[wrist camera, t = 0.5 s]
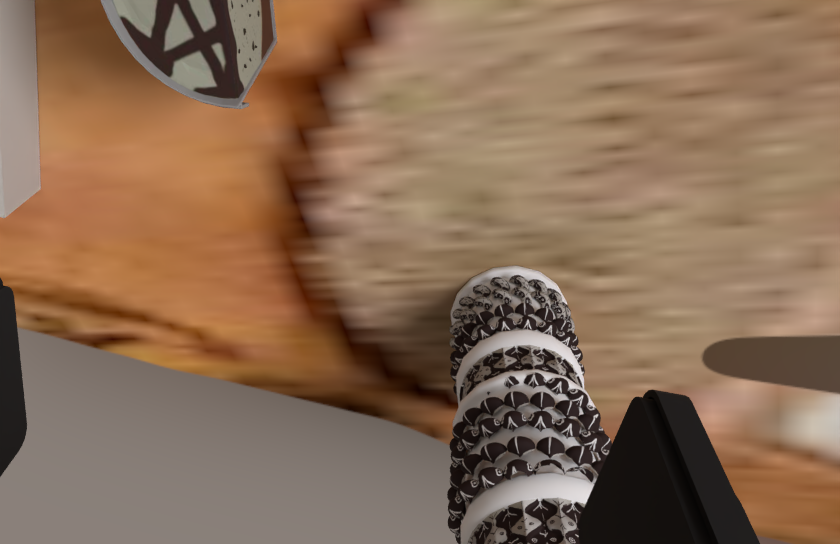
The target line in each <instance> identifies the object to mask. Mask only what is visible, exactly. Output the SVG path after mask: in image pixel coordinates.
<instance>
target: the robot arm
mask: <svg viewBox="0 0 840 544" xmlns="http://www.w3.org/2000/svg"><path fill="white" fill-rule="evenodd" d="M26 430H27V421H26V410H25V401H24V391H23V381H22V371H21V361H20V351H19V342H18V332H17V322H16V312H15V302H14V295H13V291H12V289H11V288H10V287H8V286H3V282H2V280H1V278H0V476H1V475H2V473H3V472H4V470H5V469H6V468H7V467H8V465H9V464H10V462H11V461H12V460H13V458H14V457H15V455H16V454H17V453H18V451H19V450H20V448H21V446H22V444H23V442H24V439H25V435H26ZM579 541H580V544H760V543H759V541H758V539H757V536H756V534H755V532H754V530H753V528H752V526H751V524H750V521H749V519H748V517H747V515H746V513H745V511H744V509H743V507H742V504H741V503H740V501H739V499H738V498H737V496H736V495H735V493H734V491H733V489H732V487H731V485H730V482H729V480H728V478H727V476H726V474H725V472H724V470H723V468H722V465H721V463H720V461H719V459H718V457H717V455H716V453H715V450H714V448H713V446H712V444H711V442H710V440H709V438H708V435H707V433H706V431H705V429H704V427H703V425H702V423H701V420H700V418H699V416H698V414H697V412H696V410H695V408H694V405H693V403H692V401H691V400H690V399H689V397H687V396H685V395H679V394H674V393H668V392H662V391H657V390H649V391H647V392H646V393H645V394H644V396H643V398H642V397H635V398H634V399H633V400H632V401H631V403H630V405H629V408H628V410H627V412H626V414H625V417H624V419H623V421H622V423H621V426H620V428H619V430H618V432H617V435H616V437H615V439H614V441H613V444H612V446H611V448H610V450H609V453H608V455H607V457H606V459H605V462H604V464H603V466H602V468H601V471H600V473H599V475H598V477H597V480H596V482H595V484H594V486H593V489H592V491H591V493H590V495H589V498H588V500H587V502H586V504H585V507H584V509H583V511H582V514H581V517H580V521H579Z"/></svg>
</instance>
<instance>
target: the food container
mask: <svg viewBox="0 0 840 544" xmlns="http://www.w3.org/2000/svg"><path fill="white" fill-rule="evenodd" d="M101 3H102V5H103V7H104V10H105V12H106V14H107V16H108V19H109V21H110V23H111V25H112V27H113V28H114V30H115V32H116V33H117V35H118V36H119V38H120V40H121V41H122V43H123V44H124V45H125V47H126V48H127V49H128V50H129V52H130V53H131V54H132V55H133V57H134V58H135V59H136V60H137V61H138V62H139V63H140V64H141V65H142V66H143V67H144V68H145V69H146V70H147V71H148V72H150V73H151V74H152V75H153V76H155V77H156V78H157V79H159V80H160V81H161V82H163V83H164V84H166V85H167V86H169V87H171V88H172V89H174V90H176V91H178V92H180V93H181V94H183V95H185V96H188V97H190V98H193V99H195V100H198V101H200V102H203V103H206V104H211V105H215V106H219V107H224V108H236V109H243V108H245V107H248V106H249V103H243V100H244V98H245V96H246V95H247V93H248V91H249V89H250V88H251V86H252V84H253V83H254V81H255V79H256V77H257V76H258V74H259V72H260V71H261V69H262V67H263V65H264V64H265V62H266V60H267V59H268V57H269V55H270V53H271V52H272V50H273V48H274V47H275V45H276V43H277V35H276V25H275V15H274V6H273V0H101Z"/></svg>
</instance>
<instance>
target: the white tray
mask: <svg viewBox="0 0 840 544" xmlns="http://www.w3.org/2000/svg"><path fill="white" fill-rule="evenodd" d="M40 189H41V181H40V150H39V119H38V88H37V57H36V26H35V0H0V217H3V218H5V217H7V216H8V215H9V214H10V213H12V212H13V211H14V210H15V209H17V208H18V207H19V206H20V205H21V204H23V203H24V202H25V201H26V200H28V199H29V198H30V197H31V196H33V195H34V194H35V193H36V192H37V191H39V190H40Z"/></svg>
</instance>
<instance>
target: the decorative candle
mask: <svg viewBox="0 0 840 544" xmlns="http://www.w3.org/2000/svg"><path fill="white" fill-rule="evenodd" d="M451 322H452V326H450V329H449V330H450V333H451V334H452V335H454V336H455V337H454V338H451V339H450V342H449V343H450V346H451V347H452V348H454V349H455V350H457V351H454V352H453V353H452V354H451V357H450V359H451V363H452V364H453V365H454V366H453V367H452V368H451V372H450V374H451V377H452V379H453V380H454V381H455V382H456V383H455V385H454V387H453V389H454V392H455V394H456V395H457V397H458V405H459V407H458V410H457V413H456V415H455V418H454V420H453V431H452V433H453V436H454V438H453V439H452V440H451V442H450V449H451V451H452V452H451V459H452V461H453V463H452V464H451V467H450V472H451V477H450V484H451V486H452V487H451V488H450V489H449V490H448V494H447V495H448V500H449V505H448V511H449V513H450V516H449V519H448V526H449V529H450V530H451V531H452V532H453V533H455V537H456V541H457V542H458V544H580V541H579V521H580V517H581V514H582V511H583V509H584V507H585V504H586V502H587V500H588V498H589V495H590V493H591V491H592V489H593V486H594V484H595V482H596V480H597V477H598V475H599V473H600V471H601V468H602V466H603V464H604V462H605V459H606V457H607V455H608V453H609V450H610V448H611V446H612V442H611V440H610V438H609V437H608V436H607V435H606V434H605V432H604V430H603V428H602V427H601V426H600V419H601V417H600V413H599V411H598V410H597V409H596V407H595V405H594V404H593V402H592V400H591V398H590V397H589V395H588V393H587V392H586V390H584V378H583V376H584V372H585V371H584V367H583V365H582V364H581V363H579V362H580V361H581V360H582V358H583V355H582V352H581V350H580V349H579V348H578V347H576V346H577V345H578V338H577V336H576V335H575V334H574V330H575V325H574V322H573V320H572V318H571V312H570V309H569V307H568V306H567V302H566V300H565V298H564V296H563V294H562V292H561V291H560V289H559V287H558V285H557V284H556V283H555V282H553V281H552V280H551V279H549V278H548V277H547V276H545V275H544V274H543V273H541V272H540V271H537V270H533V269H529V268H525V267H521V266H506V267H496V268H492V269H489V270H487V271H485V272H483V273H481V274H479V275H477V276H474V277H472V278H471V279H470V280H469V281H468V282H467V283H466V285H465V286H464V287H463V288H462V289H461V290H460V291H459V292H458V293H457V295H456V298H455V301H454V304H453V307H452V309H451ZM465 502H466V504H465ZM461 520H463V521H462V523H461Z"/></svg>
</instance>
